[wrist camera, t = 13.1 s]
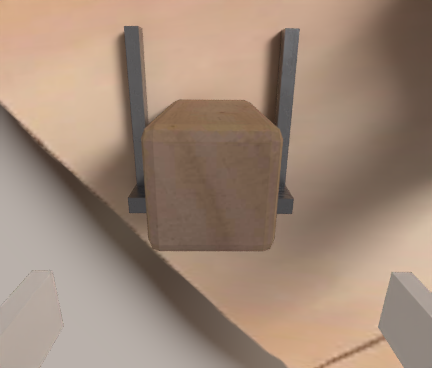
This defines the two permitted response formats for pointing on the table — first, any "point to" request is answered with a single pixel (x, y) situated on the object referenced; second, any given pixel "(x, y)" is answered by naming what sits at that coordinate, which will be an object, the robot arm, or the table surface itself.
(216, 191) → the wooden block
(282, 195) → the end stop channel
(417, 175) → the table surface
